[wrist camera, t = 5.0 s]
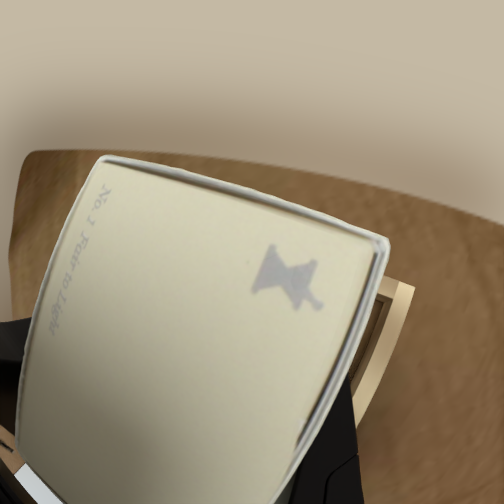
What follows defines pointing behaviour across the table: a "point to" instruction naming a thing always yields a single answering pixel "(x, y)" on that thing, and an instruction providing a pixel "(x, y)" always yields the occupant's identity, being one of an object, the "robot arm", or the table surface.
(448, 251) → the table surface
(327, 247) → the skincare box
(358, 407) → the tray
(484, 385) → the table surface
